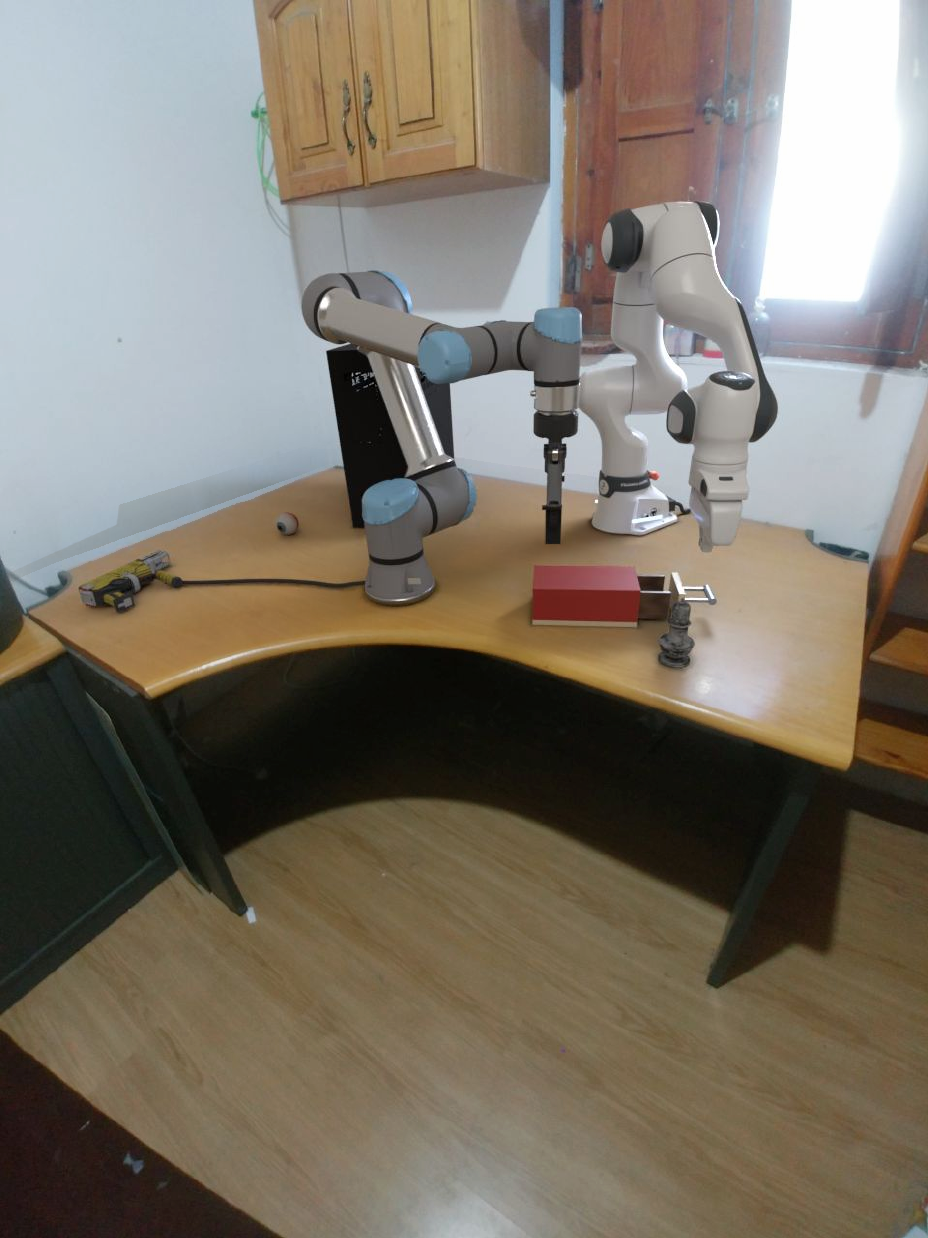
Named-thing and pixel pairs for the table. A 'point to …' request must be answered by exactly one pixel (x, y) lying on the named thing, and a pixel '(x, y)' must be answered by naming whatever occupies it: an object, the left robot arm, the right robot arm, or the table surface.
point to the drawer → (666, 595)
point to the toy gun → (127, 582)
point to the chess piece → (677, 637)
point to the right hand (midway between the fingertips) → (704, 549)
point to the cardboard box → (375, 424)
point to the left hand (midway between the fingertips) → (553, 529)
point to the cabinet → (585, 596)
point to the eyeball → (287, 523)
